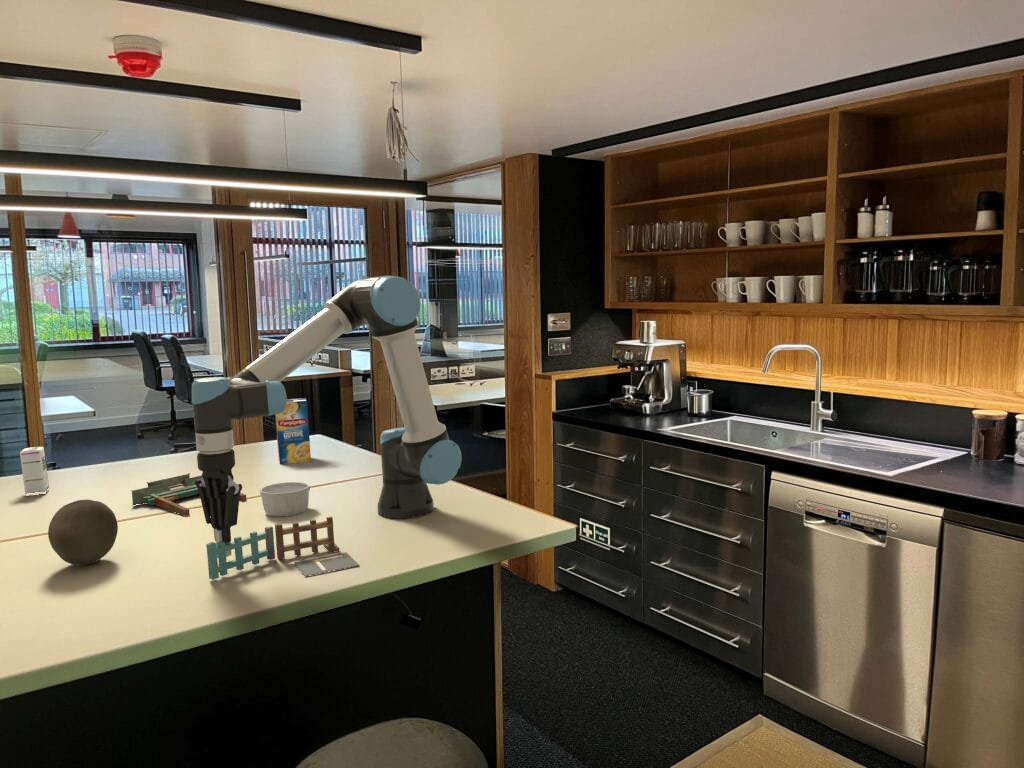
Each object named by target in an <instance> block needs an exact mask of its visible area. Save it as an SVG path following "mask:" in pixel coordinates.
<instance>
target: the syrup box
mask: <svg viewBox="0 0 1024 768" xmlns="http://www.w3.org/2000/svg"><path fill="white" fill-rule="evenodd" d="M19 455H20V464H21V472H22V478H23V479H22V480H23V487H24V493H25V494H27V493H35V492H45V491H47V489H48V488H49V489H50V486H49V485H50V484H49V478H48V468H47V461H46V455H45V448H44V446H33V447H32V446H31V447H27V448H23V449H22V450H20V451H19Z"/></svg>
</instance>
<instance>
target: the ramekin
mask: <svg viewBox="0 0 1024 768" xmlns="http://www.w3.org/2000/svg"><path fill="white" fill-rule="evenodd" d="M310 490H311V489H310V484H309V483H306V482H301V481H285V482H277V483H272V484H269V485H266V486H262V487H261V489H260V491H259V492H260V493H259V495H260V496H261V501H262V506H263V510H264V512H265V513H266V514H267V515H268V516H270V517H274V516H277V518H278V516H279V517H281V516H284V517H292V516H297V515H300V514H302V512H303V513H305V511H307V509H308V507H309V498H310ZM299 513H300V514H299ZM296 514H297V515H296ZM291 515H292V516H291Z"/></svg>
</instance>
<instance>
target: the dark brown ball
mask: <svg viewBox="0 0 1024 768" xmlns="http://www.w3.org/2000/svg"><path fill="white" fill-rule="evenodd" d="M118 525H119V524H118V519H117V517H116V514H115V513H114V511H113V510H112V508H110V507H109V506H108V505H107V504H105V503H104V502H102V501H98V500H93V499H79V500H75V501H72V502H70V503H66V504H65V505H62V506H61V507H60V508H59V509H58V510H57V511H55V514H54V515H53V517H52V518H51V520H50V522H49V525H48V531H47V537H48V541H49V544H50V546H51V548H52V550H53V551H54V552H55V553H56V554H57V556H58V557H59V558H60V559H61V560H62V561H64V562H65V563H67V564H70V565H73V566H87V565H92V564H93V563H94V562H97V561H99V560H101V559H102V558H104V557H105V556H106V555H107V554H108V553H110V552H111V550H112V549H113V548H114V547H113V546H114V544H115V543H116V539H117V536H118V530H119V526H118Z"/></svg>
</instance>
